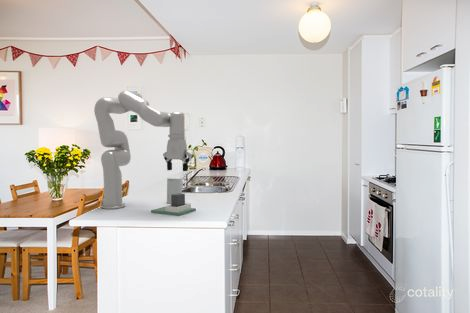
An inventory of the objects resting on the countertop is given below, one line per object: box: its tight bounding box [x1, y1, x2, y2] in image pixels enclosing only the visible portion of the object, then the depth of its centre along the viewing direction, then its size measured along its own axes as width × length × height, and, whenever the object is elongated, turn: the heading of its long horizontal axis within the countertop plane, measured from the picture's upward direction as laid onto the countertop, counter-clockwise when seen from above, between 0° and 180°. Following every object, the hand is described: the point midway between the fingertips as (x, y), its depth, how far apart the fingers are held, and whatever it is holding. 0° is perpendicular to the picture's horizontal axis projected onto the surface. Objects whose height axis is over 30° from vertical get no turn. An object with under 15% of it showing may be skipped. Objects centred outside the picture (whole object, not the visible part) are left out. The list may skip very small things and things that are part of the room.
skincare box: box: [166, 177, 183, 205], centre depth 219 cm, size 8×6×15 cm
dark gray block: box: [170, 192, 186, 207], centre depth 193 cm, size 4×7×8 cm, turn 150°
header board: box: [150, 202, 197, 217], centre depth 194 cm, size 18×14×4 cm
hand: (177, 170), depth 192 cm, fingers open, 9 cm apart
